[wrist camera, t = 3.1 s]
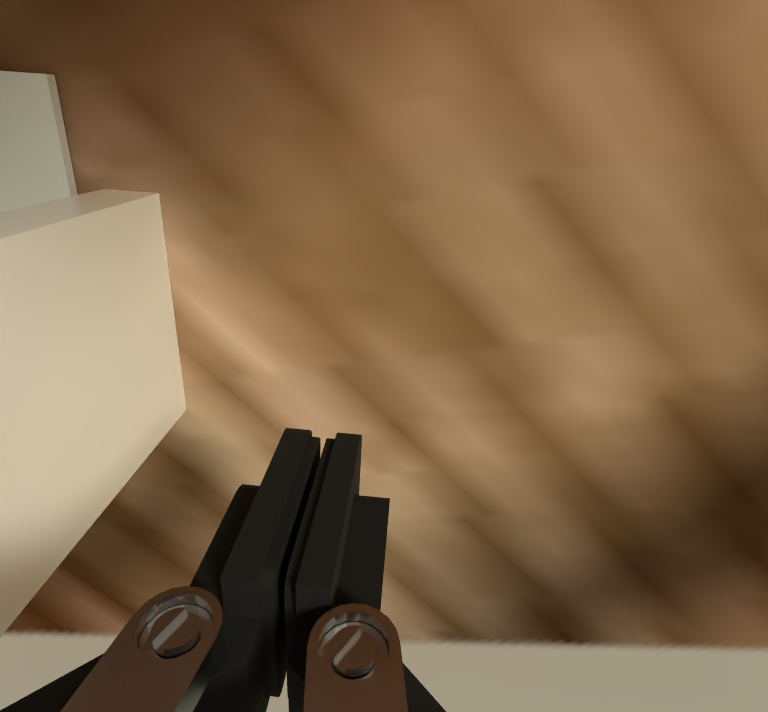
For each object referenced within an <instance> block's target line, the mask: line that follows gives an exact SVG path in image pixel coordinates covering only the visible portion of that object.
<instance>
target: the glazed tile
mask: <svg viewBox="0 0 768 712" xmlns="http://www.w3.org/2000/svg"><path fill="white" fill-rule="evenodd" d="M185 410H186V404H185V396H184V388H183V380H182V372H181V364H180V356H179V348H178V340H177V332H176V324H175V317H174V309H173V301H172V293H171V285H170V277H169V269H168V261H167V253H166V245H165V237H164V229H163V221H162V213H161V205H160V197H159V193H151V192H138V191H125V190H113V189H101V190H97V191H92V192H88V193H84V194H79V195H75V196H70V197H66V198H61V199H57V200H53V201H48V202H44V203H39V204H35V205H30V206H26V207H22V208H17V209H13V210H8V211H4V212H0V637H1V636H2V635H3V633H4V632H5V631H6V630H7V629H8V627H9V626H10V625H11V624H12V622H13V621H14V620H15V619H16V618H17V616H18V615H19V614H20V613H21V611H22V610H23V609H24V608H25V607H26V605H27V604H28V603H29V602H30V600H31V599H32V598H33V597H34V595H35V594H36V593H37V592H38V591H39V589H40V588H41V587H42V586H43V584H44V583H45V582H46V581H47V580H48V578H49V577H50V576H51V575H52V573H53V572H54V571H55V570H56V569H57V567H58V566H59V565H60V564H61V562H62V561H63V560H64V559H65V558H66V556H67V555H68V554H69V553H70V551H71V550H72V549H73V548H74V546H75V545H76V544H77V543H78V542H79V540H80V539H81V538H82V537H83V535H84V534H85V533H86V532H87V531H88V529H89V528H90V527H91V526H92V524H93V523H94V522H95V521H96V520H97V518H98V517H99V516H100V515H101V513H102V512H103V511H104V510H105V509H106V507H107V506H108V505H109V504H110V502H111V501H112V500H113V499H114V497H115V496H116V495H117V494H118V493H119V491H120V490H121V489H122V488H123V486H124V485H125V484H126V483H127V482H128V480H129V479H130V478H131V477H132V475H133V474H134V473H135V472H136V471H137V469H138V468H139V467H140V466H141V464H142V463H143V462H144V461H145V459H146V458H147V457H148V456H149V455H150V453H151V452H152V451H153V450H154V448H155V447H156V446H157V445H158V444H159V442H160V441H161V440H162V439H163V437H164V436H165V435H166V434H167V433H168V431H169V430H170V429H171V428H172V426H173V425H174V424H175V423H176V422H177V420H178V419H179V418H180V417H181V415H182V414H183V413H184V412H185Z"/></svg>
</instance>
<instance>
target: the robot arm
mask: <svg viewBox="0 0 768 712" xmlns="http://www.w3.org/2000/svg"><path fill="white" fill-rule="evenodd" d="M361 445H362V435H357V434H347V433H337V434H336V437H335V439H329V438H327V439H326V442H325V445H324V449H323V452H322V455H321V459H320V438H318V437H312V431H311V430H303V429H292V428H286V429H285V431H284V433H283V435H282V437H281V439H280V442H279V444H278V446H277V448H276V451H275V453H274V455H273V458H272V460H271V462H270V464H269V467H268V469H267V471H266V473H265V476H264V478H263V480H262V483H261V485H260V486H254V485H244V484H242V485H241V486H240V487H239V488H238V490H237V492H236V494H235V496H234V498H233V500H232V502H231V504H230V506H229V508H228V510H227V512H226V514H225V516H224V518H223V520H222V522H221V524H220V526H219V528H218V530H217V532H216V534H215V536H214V538H213V540H212V542H211V544H210V546H209V548H208V550H207V552H206V554H205V556H204V558H203V560H202V562H201V564H200V566H199V568H198V570H197V572H196V574H195V576H194V578H193V580H192V582H191V584H190V586H184V587H178V588H172V589H170V590H167V591H165V592H162V593H159V594H157V595H156V596H154V597H153V598H151V599H150V600H148V601H147V602H145V603H144V604H143V605H142V606H141V608H140V609H139V610H138V611H137V612H136V613H135V614H134V615H133V616H132V618H131V619H130V620H129V622H128V623H127V624H126V626H125V627H124V628H123V630H122V631H121V632H120V633H119V635H118V636H117V637H116V639H115V640H114V641H113V643H112V644H111V645H110V647H109V648H108V649H107V651H106V652H105V653H104V654H102V655H100V656H98V657H96V658H95V659H93V660H91V661H89V662H88V663H86V664H84V665H82V666H80V667H78V668H77V669H75V670H73V671H71V672H69V673H68V674H66V675H64V676H62V677H60V678H58V679H57V680H55V681H53V682H51V683H49V684H48V685H46V686H44V687H42V688H40V689H39V690H37V691H35V692H33V693H31V694H29V695H28V696H26V697H24V698H22V699H20V700H19V701H17V702H15V703H13V704H11V705H10V706H8V707H6V708H4V709H2V710H0V712H266V710H267V706H268V702H269V698H270V696H275V697H279V696H280V694H281V692H282V688H283V684H284V679H285V676H286V672H287V689H288V690H287V691H288V698H289V712H446V711H445V710H444V709H443V708H442V706H441V705H440V704H439V703H438V702H437V701H436V700H435V699H434V697H433V696H432V695H431V694H430V693H429V692H428V691H427V690H426V688H424V686H423V685H422V684H421V683H420V682H419V681H418V679H417V678H416V677H415V676H414V675H413V674H412V673H411V672H410V670H409V669H408V668H407V667H406V666H405V665H404V664H403V663H402V655H401V646H400V640H399V637H398V633H397V630H396V628H395V626H394V625H393V623H392V622H391V620H390V619H389V618H388V617H387V616H386V615H384V614H383V613H382V612H381V611H380V607H381V596H382V584H383V572H384V561H385V549H386V537H387V526H388V514H389V502H390V498H379V497H369V496H359V484H360V465H361Z"/></svg>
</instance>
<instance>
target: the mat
mask: <svg viewBox="0 0 768 712" xmlns="http://www.w3.org/2000/svg"><path fill="white" fill-rule="evenodd" d="M75 195H78V194H77V189H76V184H75V178H74V173H73V168H72V163H71V158H70V153H69V147H68V142H67V137H66V132H65V127H64V122H63V116H62V111H61V106H60V101H59V96H58V91H57V85H56V80H55V75H51V74H40V73H26V72H11V71H0V212H4V211H8V210H13V209H17V208H22V207H26V206H30V205H35V204H39V203H44V202H48V201H53V200H57V199H61V198H66V197H70V196H75Z"/></svg>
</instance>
